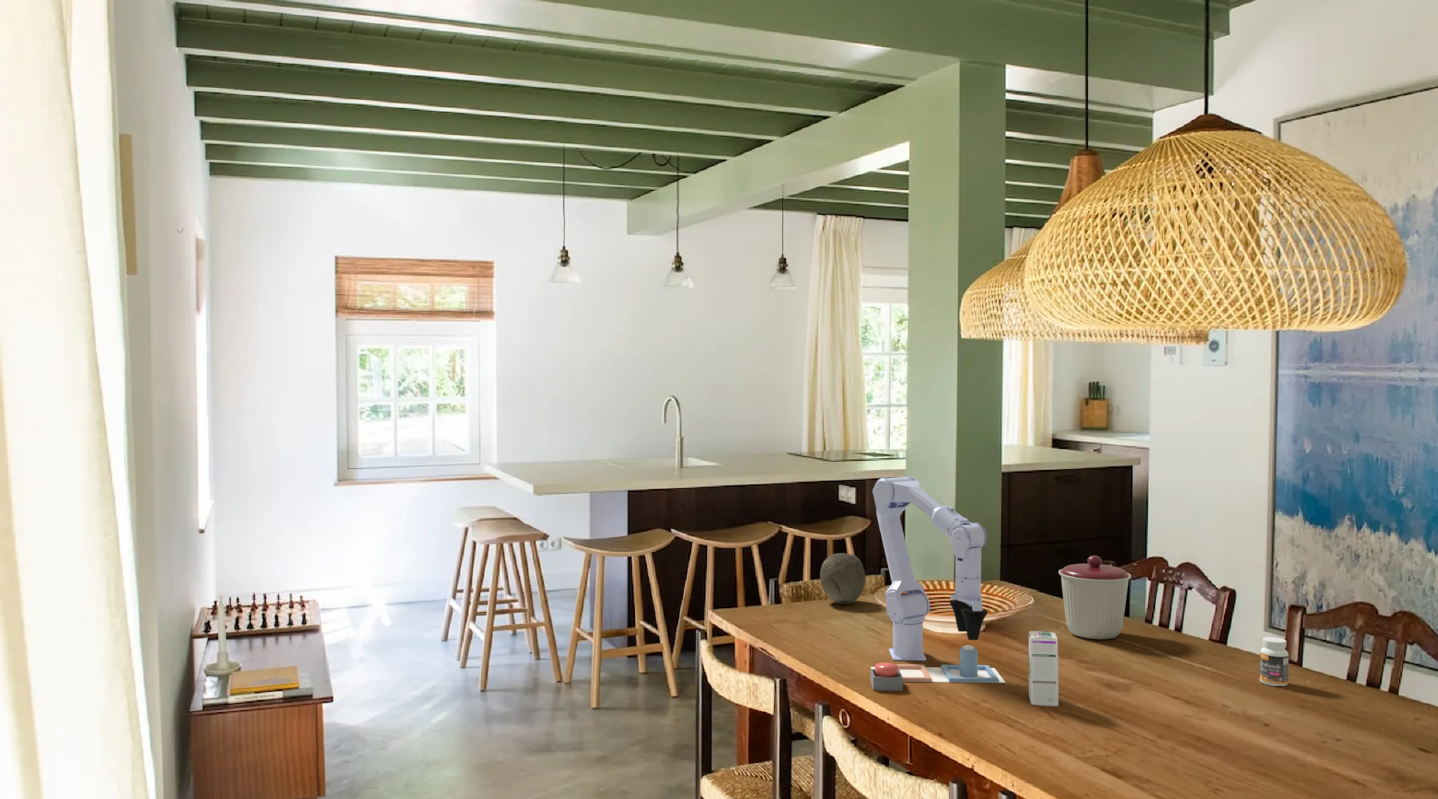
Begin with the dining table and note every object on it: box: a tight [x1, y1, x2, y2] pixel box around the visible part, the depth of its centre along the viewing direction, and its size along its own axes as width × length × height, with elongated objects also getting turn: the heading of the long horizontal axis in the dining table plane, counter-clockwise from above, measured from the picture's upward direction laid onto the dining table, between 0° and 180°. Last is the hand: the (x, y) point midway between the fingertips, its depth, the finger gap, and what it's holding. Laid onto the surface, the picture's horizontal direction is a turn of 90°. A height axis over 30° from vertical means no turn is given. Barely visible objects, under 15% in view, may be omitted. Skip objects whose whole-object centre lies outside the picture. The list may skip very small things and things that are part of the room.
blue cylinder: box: [959, 644, 979, 677], centre depth 246 cm, size 4×4×7 cm
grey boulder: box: [819, 552, 867, 605], centre depth 321 cm, size 14×14×15 cm
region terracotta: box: [896, 663, 932, 683], centre depth 246 cm, size 11×11×1 cm
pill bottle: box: [1259, 636, 1290, 687], centre depth 239 cm, size 6×6×10 cm
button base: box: [869, 668, 904, 692], centre depth 237 cm, size 6×6×3 cm
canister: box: [1058, 555, 1132, 640], centre depth 282 cm, size 18×18×21 cm
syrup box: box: [1028, 630, 1059, 707], centre depth 226 cm, size 6×6×14 cm
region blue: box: [940, 664, 999, 683], centre depth 246 cm, size 11×11×1 cm
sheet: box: [870, 666, 1006, 684], centre depth 246 cm, size 12×29×1 cm, turn 88°
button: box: [874, 662, 898, 677], centre depth 237 cm, size 5×5×2 cm
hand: (967, 635), depth 245 cm, fingers open, 7 cm apart
